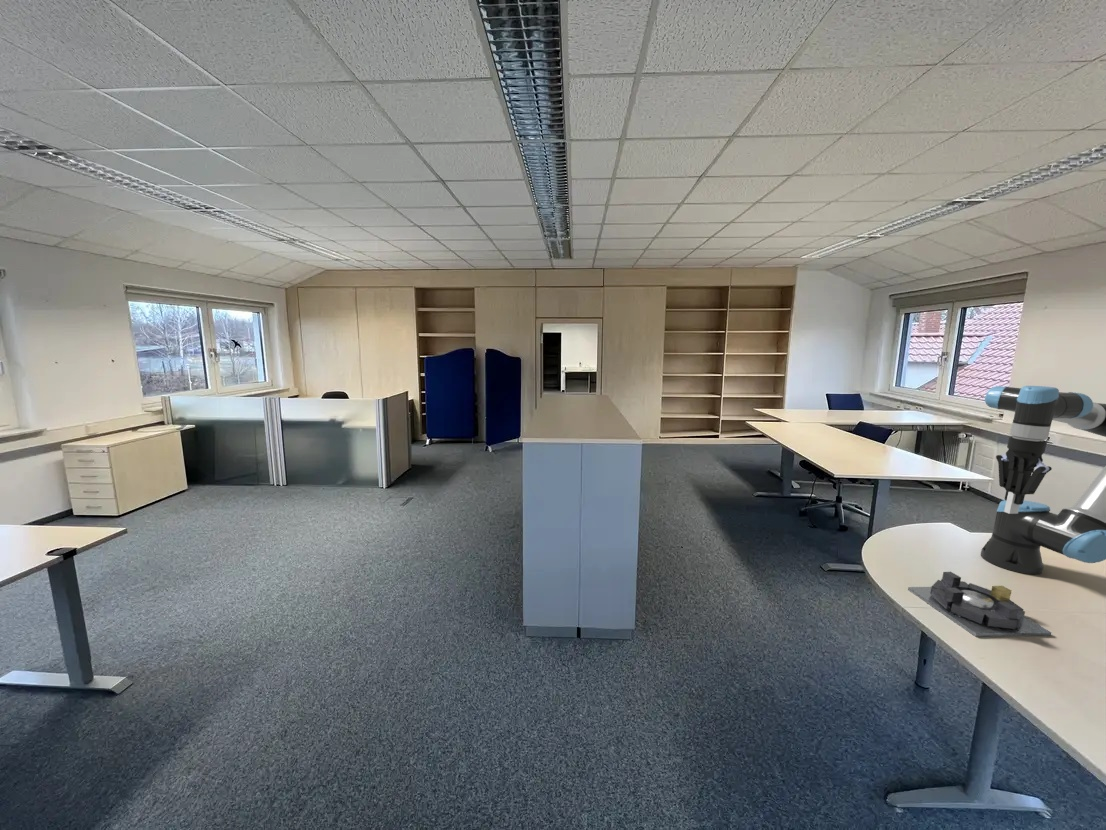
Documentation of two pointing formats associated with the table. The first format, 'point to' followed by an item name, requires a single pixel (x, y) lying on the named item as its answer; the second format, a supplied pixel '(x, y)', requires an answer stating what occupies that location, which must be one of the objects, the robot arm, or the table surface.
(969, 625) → the base plate
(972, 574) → the table surface
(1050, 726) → the table surface
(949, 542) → the table surface
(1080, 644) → the table surface
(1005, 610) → the octagonal block ring
